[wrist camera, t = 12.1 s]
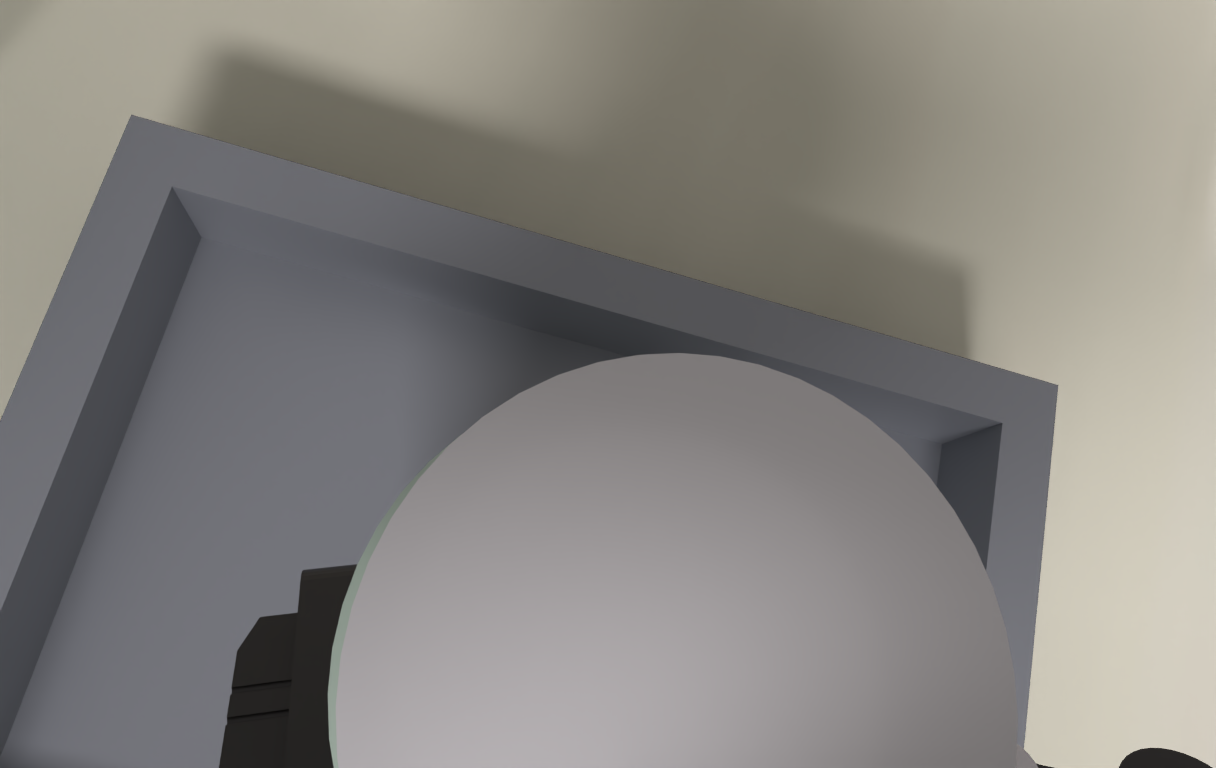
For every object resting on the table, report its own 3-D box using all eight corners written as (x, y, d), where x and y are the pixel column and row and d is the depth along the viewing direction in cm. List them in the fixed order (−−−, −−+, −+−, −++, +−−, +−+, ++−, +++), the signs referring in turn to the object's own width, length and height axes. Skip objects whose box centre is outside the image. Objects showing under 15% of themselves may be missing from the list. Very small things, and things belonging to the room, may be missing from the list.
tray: (-132, 962, 17) (-267, 1043, 14) (176, 193, 22) (131, 114, 18) (882, 1148, 20) (975, 1256, 16) (970, 418, 24) (1057, 385, 21)
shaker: (351, 764, 17) (184, 1047, 5) (431, 483, 18) (430, 246, 7) (629, 824, 17) (1004, 1198, 6) (685, 548, 19) (1071, 426, 8)
